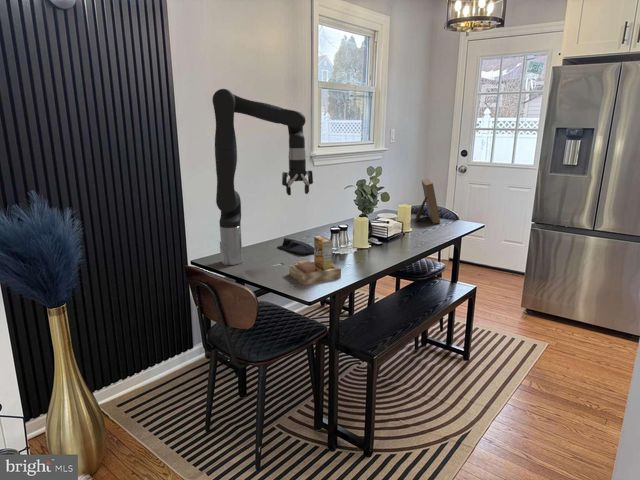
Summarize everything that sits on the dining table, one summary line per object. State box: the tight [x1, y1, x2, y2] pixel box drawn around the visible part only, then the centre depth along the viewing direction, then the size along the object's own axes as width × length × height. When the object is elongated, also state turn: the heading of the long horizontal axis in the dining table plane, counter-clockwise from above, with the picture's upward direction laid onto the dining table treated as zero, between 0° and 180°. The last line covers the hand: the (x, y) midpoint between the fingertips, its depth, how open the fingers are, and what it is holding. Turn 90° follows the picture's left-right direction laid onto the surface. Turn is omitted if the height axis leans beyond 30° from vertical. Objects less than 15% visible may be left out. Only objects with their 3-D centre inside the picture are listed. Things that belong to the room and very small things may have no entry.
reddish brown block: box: [297, 259, 315, 273], centre depth 179 cm, size 4×8×6 cm, turn 27°
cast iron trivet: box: [277, 237, 314, 256], centre depth 223 cm, size 15×22×5 cm
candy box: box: [313, 235, 333, 270], centre depth 182 cm, size 9×4×15 cm, turn 26°
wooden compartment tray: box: [288, 260, 342, 286], centre depth 181 cm, size 16×14×6 cm
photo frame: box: [414, 178, 441, 225], centre depth 282 cm, size 15×22×25 cm
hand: (297, 194), depth 203 cm, fingers open, 8 cm apart
